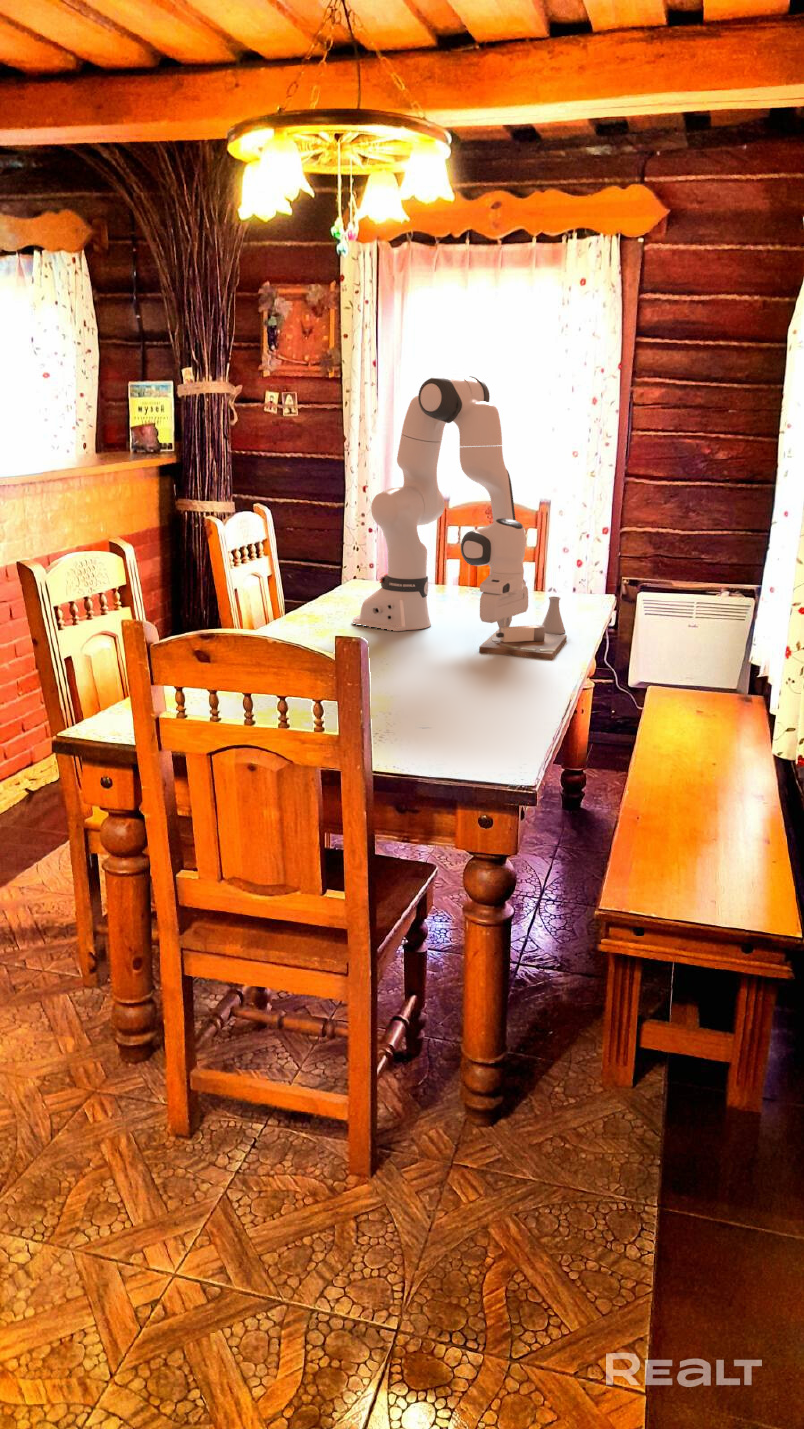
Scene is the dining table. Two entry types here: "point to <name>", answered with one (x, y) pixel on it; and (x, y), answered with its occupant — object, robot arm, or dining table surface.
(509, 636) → the peg lever
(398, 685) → the dining table surface
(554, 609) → the flask
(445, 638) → the dining table surface
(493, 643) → the board
